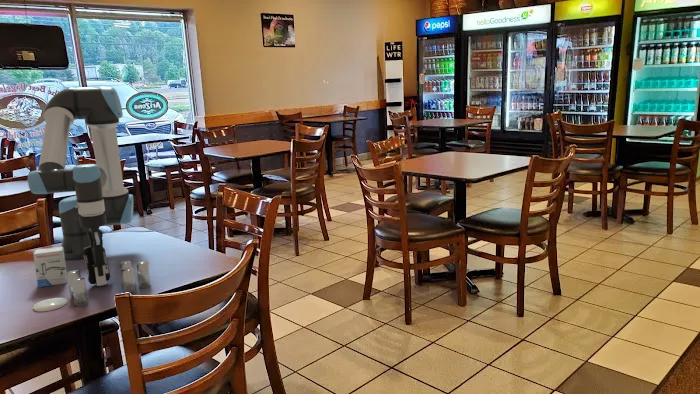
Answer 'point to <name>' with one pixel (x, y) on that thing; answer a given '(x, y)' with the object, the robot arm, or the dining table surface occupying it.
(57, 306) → the coaster
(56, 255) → the ink box
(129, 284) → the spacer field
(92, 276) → the beverage can
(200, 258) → the dining table surface
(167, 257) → the dining table surface
